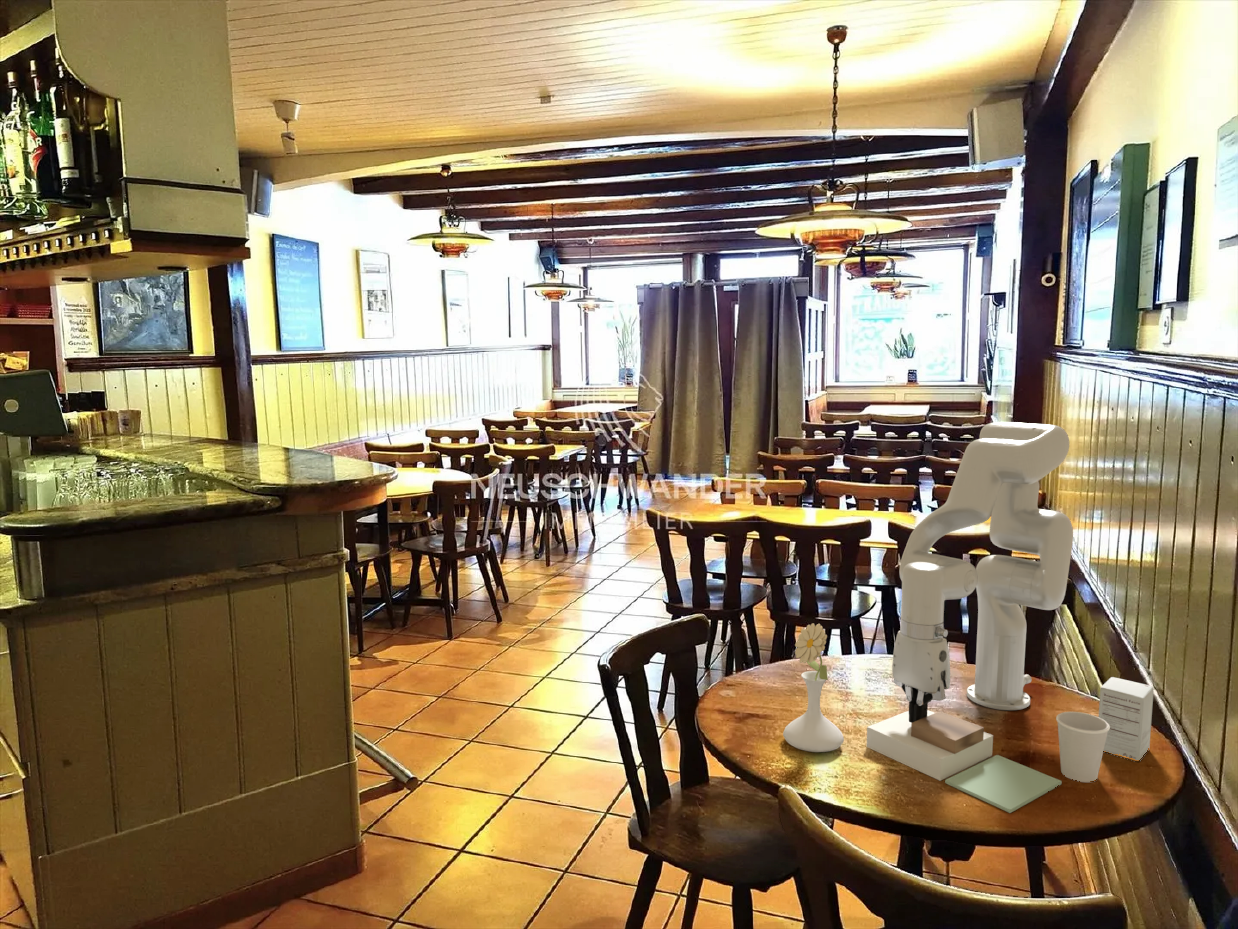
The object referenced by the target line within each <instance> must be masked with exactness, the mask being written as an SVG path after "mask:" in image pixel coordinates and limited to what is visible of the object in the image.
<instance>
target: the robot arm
mask: <svg viewBox="0 0 1238 929" xmlns="http://www.w3.org/2000/svg"><path fill="white" fill-rule="evenodd" d="M1069 449H1070V438H1069V435H1068V434H1067V431H1066V430H1065V429H1064V428H1062V427H1061V426H1058V425H1056V424H1046V423H1030V422H1029V423H1027V422H1018V421H1017V422H1016V421H1015V422H1014V421H998V422H997V421H995V422H990V423H987V424H986V425H984V426H983V427H982V428H981V430H980V433H979V438H978V439H974V440H972V441H971V442H970V443H968V445H967V446H966V448H965V451H964V453H963V455H962V458H961V461H960V463H959V465H958V466H959V468H958V469H957V471H956V474H955V478H954V480H953V483H952V485H951V489H950V490H949V494H948V497H947V500H946V501H945V503H944V504H943V505H941V506H939V507H938V508H937V509H935V510H934V511H932V512H931V513H929V514H928V515H927V516H926V517H925V518H924V519H922V520H921V521H920V522H919V523H918V524H917V525H916V527H915V528H914V529H913V530H912V532H911V533H910V535H909V538H908V540H907V543H906V544H905V545H906V546H905V548H904V551H903V553H902V556H901V559H900V563H899V578H900V580H901V602H900V605H901V606H900V607H901V608H900V628H899V629H900V630H898V631H897V634H896V637H895V641H894V647H893V652H892V653H893V654H892V665H891V666H892V667H891V669H892V670H891V672H892V678H893V683H894V684H895V685H896V686H898V687H899V688H901V689H902V691H903V693H904V694H905V698H906V700H907V701H908V711H909V722H911V723H913V722H915V721H918V720H920V719H922V718H925V717H927V710H929V709H928V707H929V706H928V705H929V703H931V702H932V701H936V702H937V701H939V702H941V701H943V700H946V692H945V690H949V689H950V686H951V661H950V660H951V659H950V651H949V650H950V649H949V645H948V642H947V641H948V640H947V636H948V634H949V632H948V629H945V627H944V613H945V612H944V611H945V601H947V600H960V599H964V598H967V597H969V596H970V595H971V594H972V593H973V592H974V591H975V590H976V594H977V609H978V611H977V612H978V613H977V632H976V633H977V634H976V650H975V651H976V653H975V671H974V672H975V673H974V684H972V685H970V686H968V687H967V688H966V696H967V698H968V699H969V700H970V701H972V702H973V703H975V704H977V705H980V706H982V707H986V708H989V709H992V710H993V709H994V710H1000V711H1019V710H1023V709H1027V707H1029V706H1030V705H1031V697H1030V695H1029V694H1028V693H1027V692H1025V691H1024V687H1025V685H1028V684H1030V683H1031V682H1032V676H1030V675H1029V674H1027V673H1026V674H1025V658H1026V644H1027V643H1026V641H1027V620H1026V616H1025V613H1024V612H1023V610H1022V608H1021V607H1020V606H1025V607H1028V608H1034V609H1039V610H1044V611H1052V610H1056V609H1057V608H1059V607H1060V606H1061V605H1062V603H1063V601H1064V599H1065V596H1066V591H1067V586H1068V585H1067V584H1068V579H1069V573H1070V572H1069V571H1070V565H1071V556H1072V549H1073V541H1074V530H1073V529H1074V527H1073V524H1072V521H1071V519H1070V518H1069V516H1067V514H1064V513H1063V512H1061V511H1057V510H1052V509H1043V508H1039V507H1038V502H1039V493H1040V482H1039V481H1040V480H1042V479H1043V478H1045V477H1046V476H1048V475H1049V474H1050V473H1051V472H1052V471H1054V470H1056V469H1057V468H1058V467H1059V466H1060V465H1061V464H1063V462H1064V461H1065V459H1066V458H1067V455H1068V454H1069ZM989 519H990V524H989V539H990V542H992V544H993V545H994V546H997V547H998V548H1001V549H1005V550H1009V551H1015V552H1021V553H1025V554H1026V553H1027V554H1031V555H1037V556H1038V557H1039V561H1036V560H1033V559H1032V560H1031V559H1030V560H1029V559H1025V558H1022V557H1017V556H1016V557H1015V556H1010V555H1004V554H1003V555H1002V554H991V555H987V556H985V557H982V558H981V559H980V560H979V561H978V563H977V565H976V567H975V566H974V565H973V564H972V563H971V562H968V561H967V560H964V559H961V558H956V557H950V556H946V555H940V554H936V553H930V551H931V548H932V547H933V545H934V544H935V543H936V542H937V541H939V539H941V538H942V537H944V536H945V535H948V534H950V533H952V532H956V531H958V530H963V529H965V528H969V527H973V526H977V525H979V524H980V525H981V524H983V523H985V522H987V521H989Z"/></svg>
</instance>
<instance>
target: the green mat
mask: <svg viewBox="0 0 1238 929" xmlns="http://www.w3.org/2000/svg"><path fill="white" fill-rule="evenodd" d="M944 780H945V782H944V783H945V784H947V785H948V786H951V787H952V788H955V789H957V790H959V791H961V792H964V793H966V794H968V795H970V796H972V797H974V798H976V799H979V800H981V801H983V802H985V803H988V804H990V805H992V806H994V807H996V808H998V809H1001V810H1003V811H1005V812H1007V813H1009V814H1011V813H1013V812H1015V811H1016V810H1018V809H1020V808H1021V807H1024V806H1025V805H1027V804H1029V803H1031V802H1033V801H1034V800H1036V799H1038V798H1039V797H1041V796H1044V795H1045V794H1047V793H1048V791H1049V792H1050V791H1052V790H1054V789H1056V788H1057V786H1058V785H1059V786H1061V785H1062V780H1061V779H1058V778H1055V777H1052V776H1050V775H1047V774H1045V773H1043V772H1040V771H1038V770H1037V769H1033V768H1031V767H1028V766H1026V765H1023V764H1020V763H1019V762H1016V761H1013V760H1011V759H1008V758H1007V757H1003V756H1001V755H999V754H996V755H993V756H991V757H988V758H986V759H984V760H982V761H980V762H978V763H976V764H974V765H972V766H970V767H968V768H966V769H964V770H962V771H960V772H957V773H955V774H953V775H951V776H949V777H947V778H945V779H944ZM1059 786H1058V787H1059ZM1055 787H1056V788H1055Z"/></svg>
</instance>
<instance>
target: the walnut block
mask: <svg viewBox="0 0 1238 929" xmlns="http://www.w3.org/2000/svg"><path fill="white" fill-rule="evenodd" d="M984 729H985V728H984V726H982V725H978V724H976V723H973V722H970V721H968V720H965V719H963V718H960V717H957V716H954V715H952V714H950V713H947V712H944V711H941V710H940V711H936V712H934V714H932V715H930V716H927V717H925V718H922V719H920V720H918V721H915V722H913V723H911V736H913V737H915V738H917V739H920V740H922V741H925V742H927V743H929V744H932V745H934V746H937V747H939V748H941V749H944V750H946V751H949V752H951V753H953V754H956V753H958V752H960V751H962V750H964V749H966V748H968V747H970V746H973V745H975V744H977V743H979V742H981V741H983V735H984V732H985V730H984Z"/></svg>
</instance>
